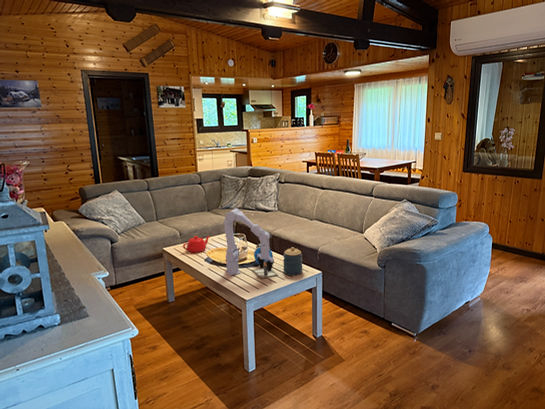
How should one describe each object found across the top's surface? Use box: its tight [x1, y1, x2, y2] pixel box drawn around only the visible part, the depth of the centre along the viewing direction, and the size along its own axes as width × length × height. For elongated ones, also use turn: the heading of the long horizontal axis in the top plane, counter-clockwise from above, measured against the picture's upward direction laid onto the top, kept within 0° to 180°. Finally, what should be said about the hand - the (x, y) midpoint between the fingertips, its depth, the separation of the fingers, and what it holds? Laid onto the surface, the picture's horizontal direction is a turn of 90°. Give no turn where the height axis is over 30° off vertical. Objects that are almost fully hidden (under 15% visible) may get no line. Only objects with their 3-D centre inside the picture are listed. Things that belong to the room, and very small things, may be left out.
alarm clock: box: [253, 243, 274, 265], centre depth 261 cm, size 13×6×15 cm, turn 52°
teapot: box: [182, 235, 211, 254], centre depth 296 cm, size 25×16×12 cm, turn 132°
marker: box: [263, 261, 268, 275], centre depth 242 cm, size 3×3×9 cm
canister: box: [282, 246, 303, 276], centre depth 246 cm, size 13×13×18 cm
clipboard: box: [251, 267, 279, 280], centre depth 247 cm, size 16×12×1 cm
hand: (265, 269), depth 242 cm, fingers open, 7 cm apart
